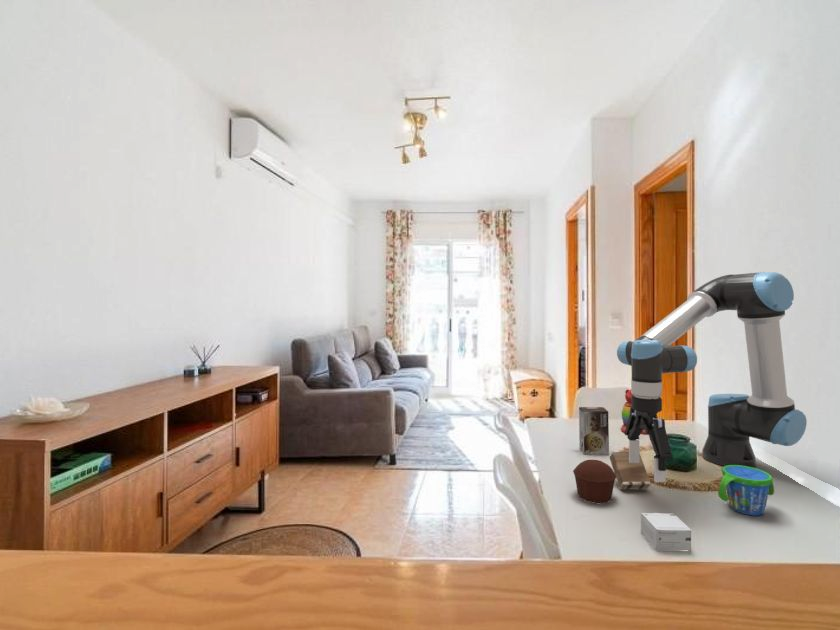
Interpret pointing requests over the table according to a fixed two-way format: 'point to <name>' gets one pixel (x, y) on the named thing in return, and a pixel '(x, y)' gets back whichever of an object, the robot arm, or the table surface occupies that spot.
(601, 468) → the muffin
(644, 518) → the small box
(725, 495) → the snack cup
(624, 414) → the stacking bear
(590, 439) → the coffee box
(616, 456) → the brown thick block
